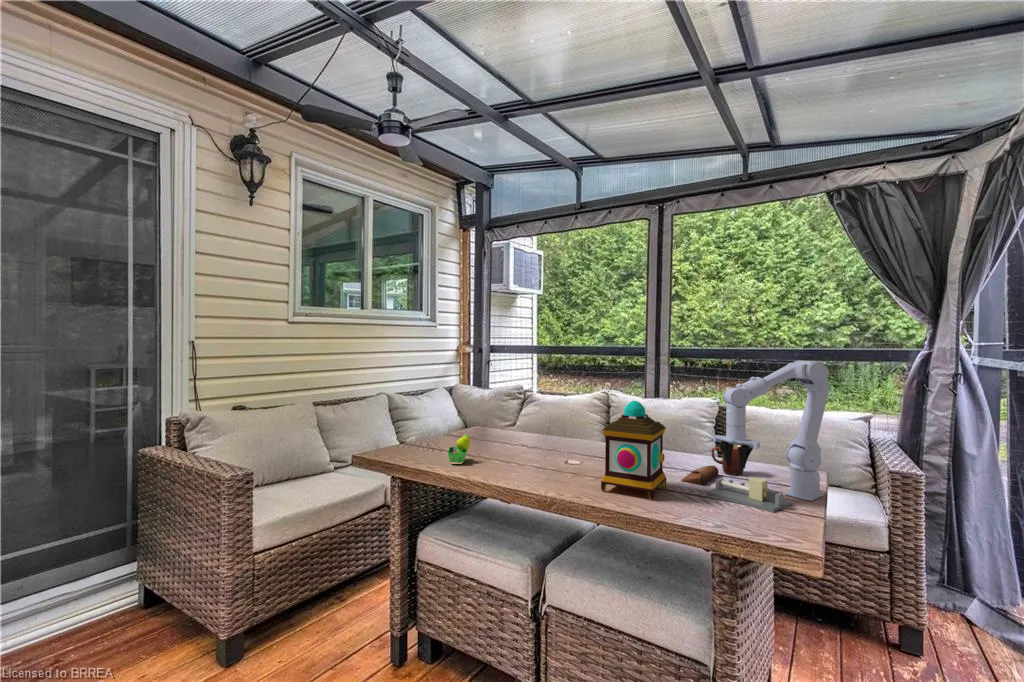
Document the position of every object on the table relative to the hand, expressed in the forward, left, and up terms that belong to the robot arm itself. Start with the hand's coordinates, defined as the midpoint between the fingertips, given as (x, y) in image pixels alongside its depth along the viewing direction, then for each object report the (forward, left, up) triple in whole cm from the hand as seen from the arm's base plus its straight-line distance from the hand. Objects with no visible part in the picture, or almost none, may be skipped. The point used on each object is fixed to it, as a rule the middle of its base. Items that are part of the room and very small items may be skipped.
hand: (735, 467), depth 156 cm
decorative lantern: (+21, -24, -10) cm, 33 cm away
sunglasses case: (-9, -18, -10) cm, 23 cm away
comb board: (0, +4, -9) cm, 10 cm away
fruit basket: (+50, -90, -10) cm, 103 cm away
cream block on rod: (0, +7, -8) cm, 11 cm away
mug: (-25, -16, -10) cm, 31 cm away
